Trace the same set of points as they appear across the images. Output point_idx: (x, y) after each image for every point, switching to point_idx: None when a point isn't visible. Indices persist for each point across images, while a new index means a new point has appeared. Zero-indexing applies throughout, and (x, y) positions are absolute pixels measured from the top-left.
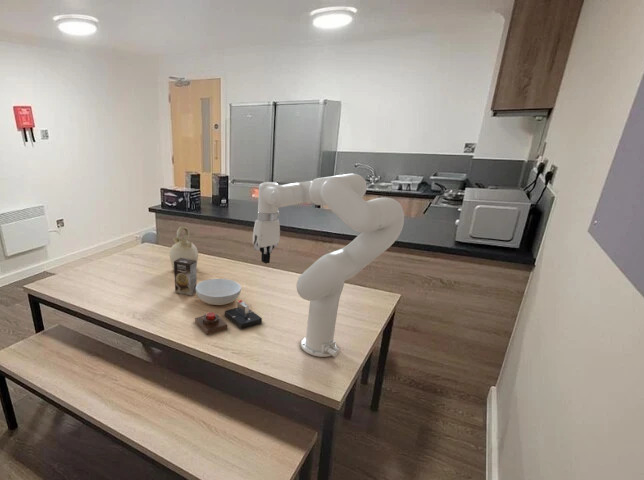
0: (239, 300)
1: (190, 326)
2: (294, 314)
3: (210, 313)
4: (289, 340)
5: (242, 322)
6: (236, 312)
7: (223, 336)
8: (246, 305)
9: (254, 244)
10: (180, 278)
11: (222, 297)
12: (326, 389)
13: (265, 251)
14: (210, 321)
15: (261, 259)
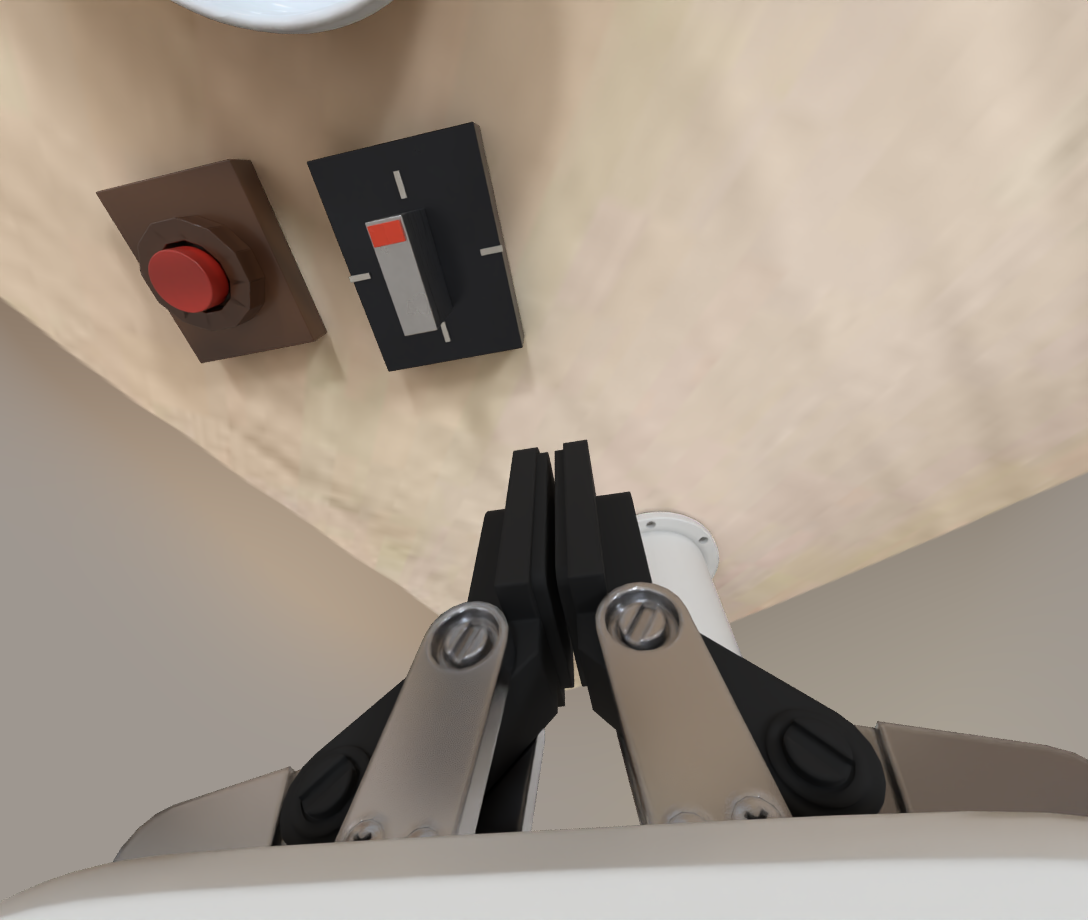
0: (381, 225)
1: (104, 230)
2: (757, 298)
3: (176, 270)
4: None
5: (400, 356)
6: None
7: (302, 389)
8: (419, 317)
9: (31, 917)
10: None
11: (250, 29)
12: None
13: (501, 774)
14: (199, 326)
15: (485, 517)
